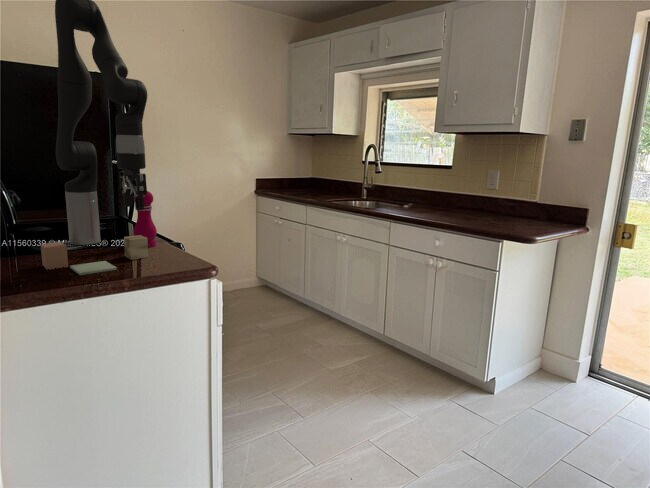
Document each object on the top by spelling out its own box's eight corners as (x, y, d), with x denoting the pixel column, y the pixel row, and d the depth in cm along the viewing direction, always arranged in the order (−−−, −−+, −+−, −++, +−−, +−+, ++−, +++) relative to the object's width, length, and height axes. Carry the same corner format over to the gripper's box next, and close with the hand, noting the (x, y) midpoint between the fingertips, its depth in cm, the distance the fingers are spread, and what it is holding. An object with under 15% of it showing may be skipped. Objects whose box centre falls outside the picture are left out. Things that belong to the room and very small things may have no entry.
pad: (69, 267, 120) (69, 265, 120) (105, 262, 126) (105, 260, 126) (79, 275, 113) (79, 273, 113) (116, 269, 119) (116, 267, 119)
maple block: (125, 256, 134) (123, 237, 132) (141, 254, 137) (140, 235, 136) (131, 259, 130) (130, 239, 129) (148, 257, 134) (147, 237, 132)
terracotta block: (42, 265, 121) (40, 244, 120) (63, 263, 124) (61, 242, 123) (47, 269, 117) (44, 247, 116) (68, 266, 121) (66, 245, 119)
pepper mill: (161, 244, 151) (158, 185, 147) (151, 248, 144) (148, 186, 140) (140, 243, 152) (137, 184, 148) (129, 247, 145) (126, 186, 141)
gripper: (108, 151, 130) (112, 206, 133) (126, 152, 120) (130, 212, 123) (134, 151, 135) (137, 205, 138) (154, 152, 125) (156, 210, 128)
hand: (134, 208), depth 130 cm, fingers open, 8 cm apart
